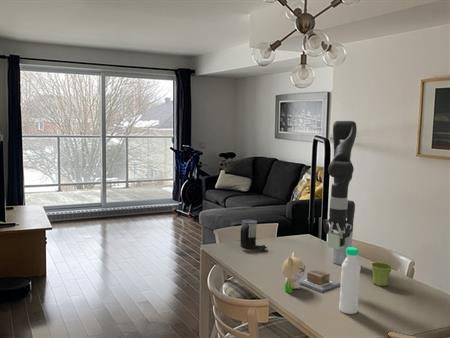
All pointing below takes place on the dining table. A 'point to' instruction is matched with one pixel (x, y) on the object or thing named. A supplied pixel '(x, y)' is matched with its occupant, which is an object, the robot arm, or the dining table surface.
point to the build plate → (316, 287)
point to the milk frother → (249, 234)
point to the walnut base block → (318, 277)
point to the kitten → (293, 272)
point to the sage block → (334, 240)
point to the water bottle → (350, 282)
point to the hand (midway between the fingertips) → (336, 244)
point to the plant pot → (381, 273)
